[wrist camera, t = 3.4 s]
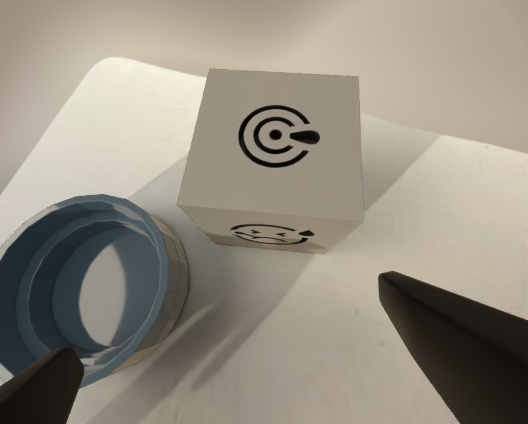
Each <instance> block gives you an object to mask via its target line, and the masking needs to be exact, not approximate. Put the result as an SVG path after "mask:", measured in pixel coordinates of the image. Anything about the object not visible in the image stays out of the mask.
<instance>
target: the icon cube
mask: <svg viewBox="0 0 528 424" xmlns="http://www.w3.org/2000/svg"><path fill="white" fill-rule="evenodd" d="M177 206H178V207H179V208H180V209H181V210H182V211H183V212H184V213H185V214H186V215H187V216H188V217H189V218H190V219H191V220H192V221H193V222H194V223H195V224H197V225H198V226H199V227H200V228H201V229H202V230H203V231H204V232H205V233H206V234H207V235H208V236H209V237H210V238H211V239H212V240H213V241H214V242H215V243H216V244H224V245H234V246H245V247H255V248H265V249H275V250H285V251H295V252H306V253H316V254H325V253H326V252H327V251H329V250H330V249H331V248H332V247H333V246H335V245H336V244H337V243H338V242H339V241H341V240H342V239H343V238H344V237H345V236H347V235H348V234H349V233H350V232H351V231H353V230H354V229H355V228H356V227H357V226H359V225H360V224H361V223H362V222H363V193H362V163H361V133H360V102H359V77H356V76H338V75H320V74H301V73H283V72H264V71H245V70H227V69H209V72H208V76H207V80H206V84H205V88H204V93H203V97H202V101H201V105H200V109H199V113H198V118H197V122H196V126H195V130H194V134H193V138H192V143H191V147H190V151H189V155H188V159H187V163H186V168H185V172H184V176H183V180H182V184H181V188H180V193H179V197H178V201H177Z"/></svg>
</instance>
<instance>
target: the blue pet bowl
mask: <svg viewBox="0 0 528 424" xmlns="http://www.w3.org/2000/svg"><path fill="white" fill-rule="evenodd" d="M187 292H188V263H187V260H186V256H185V253H184V250H183V247H182V244H181V243H180V241H179V240H178V239H177V237H176V236H175V235H174V233H173V232H172V231H171V229H170V228H169V227H167V226H166V225H165V224H163V223H162V222H160V221H159V220H157V219H156V218H155V217H153V216H152V215H150V214H149V213H147V212H146V211H144V210H143V209H141V208H140V207H138V206H136V205H135V204H133V203H132V202H130V201H129V200H127V199H123V198H118V197H114V196H109V195H105V194H99V195H87V196H77V197H73V198H70V199H68V200H65V201H62V202H59V203H57V204H54V205H51V206H50V207H47V208H46V209H44V210H43V211H41V212H40V213H38V214H37V215H35V216H34V217H32V218H31V219H29V220H28V221H26V222H25V223H23V224H22V225H21V226H20V227H19V228H18V229H17V230H16V231H15V232H14V234H13V235H12V236H11V237H10V238H9V239H8V240H7V241H6V242H5V243H4V244H3V245H2V246H1V248H0V379H1V380H2V381H3V382H4V383H6V382H7V381H9V380H10V379H11V378H13V377H14V376H16V375H17V374H19V373H20V372H21V371H23V370H24V369H26V368H27V367H28V366H30V365H31V364H33V363H34V362H36V361H37V360H38V359H40V358H41V357H43V356H44V355H45V354H47V353H48V352H50V351H51V350H53V349H56V348H61V347H65V346H70V347H72V348H73V349H74V350H75V352H76V354H77V355H78V357H79V358H80V360H81V362H82V363H83V365H84V370H85V372H84V376H83V379H82V382H81V384H80V387H79V389H80V388H82V387H85V386H87V385H89V384H91V383H94V382H96V381H98V380H100V379H103V378H105V377H107V376H109V375H111V374H113V373H115V372H117V371H120V370H122V369H124V368H126V367H128V366H130V365H132V364H134V363H137V362H139V361H140V360H142V359H143V358H144V357H145V356H147V355H148V354H149V353H150V352H151V351H152V350H153V349H155V348H156V347H157V346H158V345H159V344H160V343H162V341H163V340H164V339H165V338H166V336H167V335H168V333H169V332H170V330H171V329H172V327H173V326H174V324H175V323H176V321H177V320H178V318H179V316H180V314H181V310H182V307H183V304H184V301H185V298H186V295H187Z"/></svg>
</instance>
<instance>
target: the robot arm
mask: <svg viewBox="0 0 528 424" xmlns="http://www.w3.org/2000/svg"><path fill="white" fill-rule="evenodd" d="M378 285H379V299H380V302H381V304H382V306H383V308H384V310H385V311H386V313H387V315H388V316H389V318H390V320H391V322H392V323H393V325H394V327H395V328H396V330H397V332H398V334H399V335H400V337H401V339H402V340H403V342H404V344H405V346H406V347H407V349H408V351H409V352H410V354H411V355H412V357H413V358H414V360H415V361H416V363H417V364H418V366H419V367H420V368H421V370H422V371H423V373H424V374H425V375H426V377H427V378H428V380H429V381H430V382H431V384H432V385H433V387H434V388H435V389H436V391H437V392H438V393H439V395H440V396H441V398H442V399H443V400H444V402H445V403H446V405H447V406H448V407H449V409H450V410H451V412H452V413H453V414H454V416H455V417H456V419H457V420H458V421H459V423H460V424H528V320H525V319H523V318H520V317H517V316H515V315H512V314H509V313H506V312H504V311H501V310H498V309H496V308H493V307H490V306H487V305H485V304H482V303H479V302H477V301H474V300H471V299H468V298H466V297H463V296H460V295H458V294H455V293H452V292H449V291H447V290H444V289H441V288H439V287H436V286H433V285H430V284H428V283H425V282H422V281H420V280H417V279H414V278H412V277H409V276H406V275H403V274H401V273H398V272H395V271H389V272H385V273H381V274H380V275H379V277H378ZM84 372H85V370H84V365H83V363H82V362H81V360H80V358H79V357H78V355H77V354H76V352H75V350H74V349H73V348H72V347H70V346H65V347H61V348H56V349H53V350H51V351H50V352H48V353H47V354H45V355H44V356H43V357H41V358H40V359H38V360H37V361H36V362H34V363H33V364H31V365H30V366H28V367H27V368H26V369H24V370H23V371H21V372H20V373H19V374H17V375H16V376H14V377H13V378H11V379H10V380H9V381H7V382H6V383H4V384H3V385H1V386H0V424H66V422H67V420H68V417H69V414H70V412H71V409H72V406H73V403H74V401H75V398H76V395H77V393H78V390H79V387H80V384H81V382H82V379H83V376H84Z"/></svg>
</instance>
